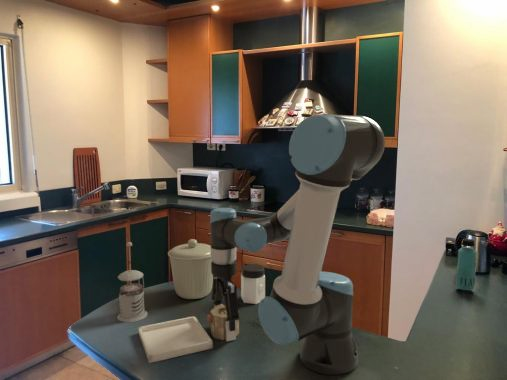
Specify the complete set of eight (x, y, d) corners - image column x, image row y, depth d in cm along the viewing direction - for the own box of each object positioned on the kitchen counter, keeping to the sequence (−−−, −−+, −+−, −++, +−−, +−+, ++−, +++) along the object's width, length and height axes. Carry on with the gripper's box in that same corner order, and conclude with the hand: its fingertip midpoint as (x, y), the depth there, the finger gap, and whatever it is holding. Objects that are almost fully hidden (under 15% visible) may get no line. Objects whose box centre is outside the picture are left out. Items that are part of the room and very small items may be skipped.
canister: (160, 293, 153) (158, 238, 150) (201, 281, 165) (200, 231, 162) (185, 308, 140) (183, 249, 137) (227, 295, 151) (226, 240, 148)
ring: (242, 336, 120) (242, 313, 119) (212, 342, 117) (212, 319, 116) (232, 324, 128) (232, 303, 127) (204, 330, 124) (203, 308, 123)
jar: (251, 306, 141) (251, 273, 139) (236, 299, 147) (236, 267, 145) (269, 299, 147) (269, 267, 145) (254, 292, 153) (254, 262, 151)
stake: (230, 333, 122) (230, 312, 121) (222, 335, 121) (222, 314, 120) (227, 330, 124) (227, 309, 123) (219, 331, 123) (219, 310, 122)
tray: (212, 348, 114) (212, 341, 113) (149, 363, 106) (148, 356, 106) (194, 321, 130) (194, 316, 129) (138, 333, 122) (138, 327, 122)
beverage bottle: (456, 293, 152) (460, 241, 149) (453, 286, 158) (457, 236, 155) (476, 295, 150) (480, 242, 147) (472, 288, 156) (476, 237, 153)
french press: (110, 320, 131) (106, 245, 127) (129, 305, 142) (126, 236, 139) (138, 323, 129) (134, 247, 125) (155, 308, 140) (152, 237, 136)
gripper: (251, 270, 111) (251, 346, 114) (222, 249, 131) (223, 314, 134) (225, 274, 108) (226, 352, 111) (200, 252, 128) (201, 319, 131)
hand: (224, 332), depth 122 cm, fingers open, 9 cm apart
